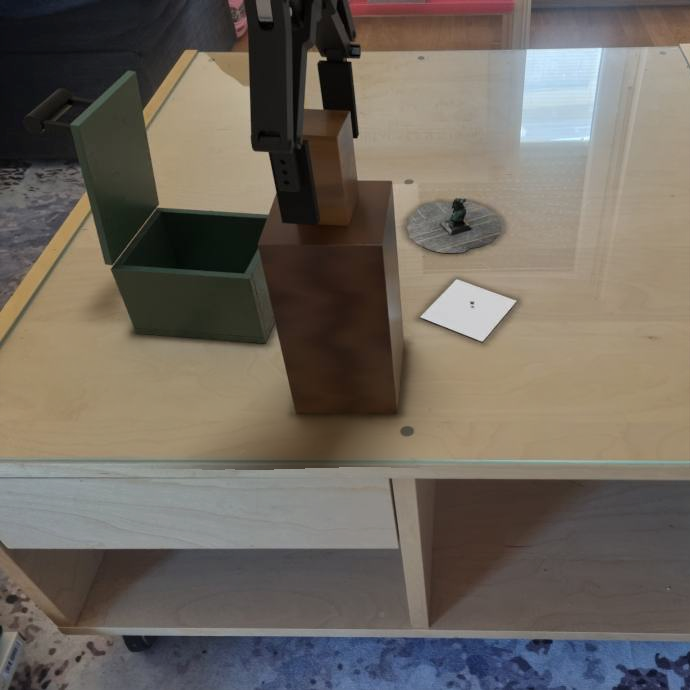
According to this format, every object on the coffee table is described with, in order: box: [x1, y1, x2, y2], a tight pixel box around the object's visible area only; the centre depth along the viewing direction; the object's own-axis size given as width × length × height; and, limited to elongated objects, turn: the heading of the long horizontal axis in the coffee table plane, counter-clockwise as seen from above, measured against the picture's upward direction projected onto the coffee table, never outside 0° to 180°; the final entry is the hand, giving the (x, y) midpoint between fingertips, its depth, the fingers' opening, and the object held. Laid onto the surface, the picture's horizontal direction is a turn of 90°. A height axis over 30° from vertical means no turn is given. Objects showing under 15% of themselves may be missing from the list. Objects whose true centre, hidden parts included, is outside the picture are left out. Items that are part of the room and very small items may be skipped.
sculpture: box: [406, 197, 502, 254], centre depth 97 cm, size 12×9×8 cm
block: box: [302, 108, 359, 226], centre depth 60 cm, size 4×4×8 cm
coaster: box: [420, 278, 517, 343], centre depth 84 cm, size 8×8×1 cm
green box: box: [110, 207, 275, 344], centre depth 82 cm, size 15×12×9 cm
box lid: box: [22, 70, 160, 266], centre depth 74 cm, size 15×12×7 cm
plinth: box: [258, 179, 405, 415], centre depth 70 cm, size 10×10×20 cm
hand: (323, 175), depth 61 cm, fingers open, 13 cm apart
